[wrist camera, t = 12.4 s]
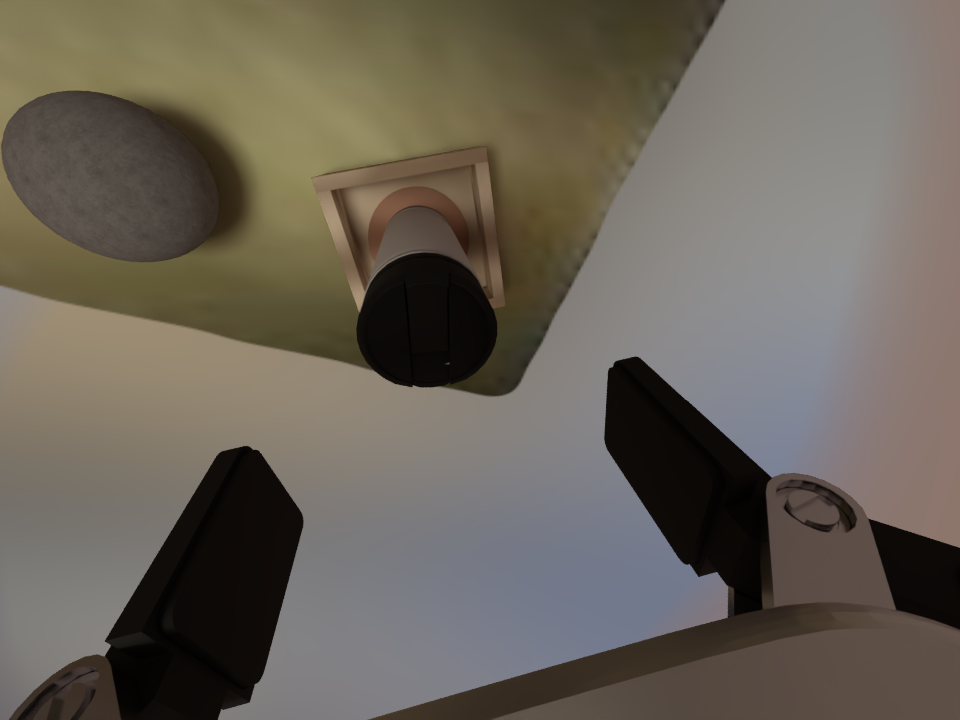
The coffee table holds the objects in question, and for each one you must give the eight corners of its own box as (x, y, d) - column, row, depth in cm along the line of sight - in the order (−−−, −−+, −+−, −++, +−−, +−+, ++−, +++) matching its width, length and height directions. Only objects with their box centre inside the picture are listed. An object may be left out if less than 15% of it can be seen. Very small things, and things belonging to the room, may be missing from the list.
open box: (323, 174, 30) (311, 177, 26) (476, 146, 31) (486, 146, 27) (371, 315, 36) (367, 335, 33) (495, 289, 37) (505, 305, 34)
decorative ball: (69, 188, 27) (-84, 205, 19) (114, 64, 24) (-42, 17, 16) (211, 267, 32) (139, 311, 23) (263, 170, 29) (203, 179, 20)
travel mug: (453, 201, 31) (506, 261, 14) (454, 275, 34) (497, 397, 17) (379, 200, 30) (339, 263, 13) (387, 277, 33) (364, 408, 16)
